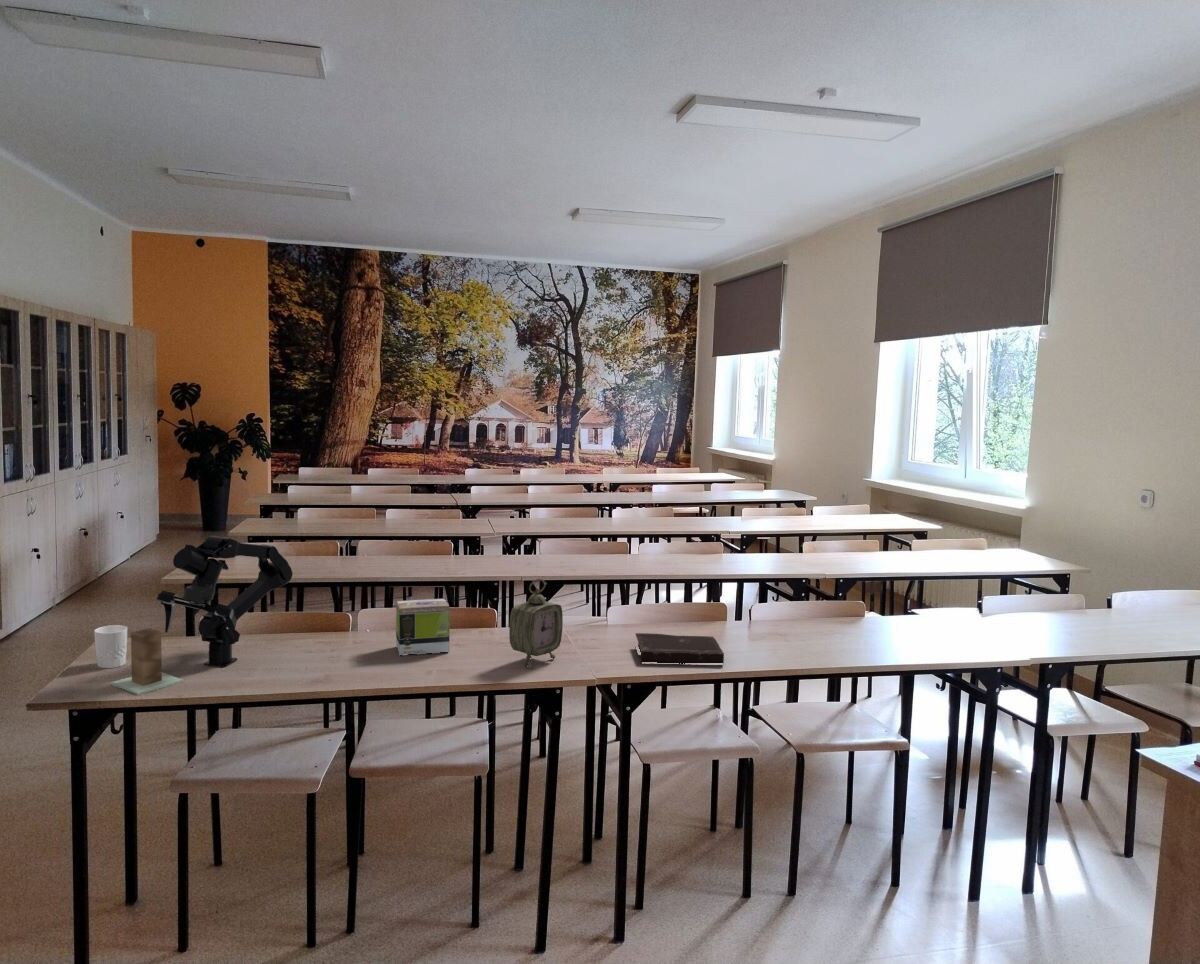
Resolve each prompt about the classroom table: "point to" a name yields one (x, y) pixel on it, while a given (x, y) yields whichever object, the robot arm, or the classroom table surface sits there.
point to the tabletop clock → (536, 626)
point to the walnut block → (146, 656)
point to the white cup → (111, 646)
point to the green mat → (140, 689)
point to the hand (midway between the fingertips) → (184, 636)
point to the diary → (679, 649)
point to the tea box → (422, 626)
